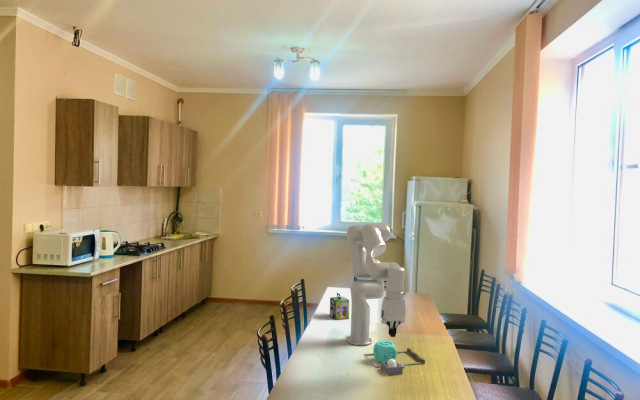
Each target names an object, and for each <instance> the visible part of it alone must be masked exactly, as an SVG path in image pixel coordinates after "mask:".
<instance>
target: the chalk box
mask: <svg viewBox="0 0 640 400" xmlns="http://www.w3.org/2000/svg"><path fill="white" fill-rule="evenodd" d="M329 316H330V317H331V319H333V320H335V321H337V320H347V319H348V320H349V319H350V299H348V298H347V297H344V296H342V295H341V294H340V293H338V292H336V296H333V297H330V298H329Z"/></svg>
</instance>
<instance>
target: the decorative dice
mask: <svg viewBox="0 0 640 400" xmlns="http://www.w3.org/2000/svg"><path fill="white" fill-rule="evenodd" d="M396 347H397V346H396V345H395V343H393V342H392V341H390V340H379V341H377V342H375V344H374V346H373V349H372V354H373V353H374V355H373V357H374V360H375V361H376V362H378V363H380V364H381V362H384V361H388V360H389V359H394V360H396V359H397V356H398V355H397V354H398V353H397V351H398V350H397V348H396Z"/></svg>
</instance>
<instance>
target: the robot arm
mask: <svg viewBox="0 0 640 400" xmlns="http://www.w3.org/2000/svg"><path fill="white" fill-rule="evenodd" d="M391 236H392V232H391V229H390V227H389V226H388V225H387V224H385V223H384V224H383V223H369V224H365V225H364V224H356V225H351V226H348V228H347V230H346V242H347V245H348V247H349V251H350V263H351V273H352V275H353V277H355V278H357V279H358V278H363V280H362V279H360V280H356V281H353V282H352V283H351V284H350V296H351V297H350V298H351V311H350V312H351V316H350V336H348V337H347V339H346V340H347V342H348V343H349V344H350V345H354V346H360V347H361V346H370V345H371V344H372V342H373V339H372V338H371V337H370V321H371V319H370V318H371V307H370V304H369V303H368V302H367V300H373V299H374V300H375V299H381V298H383V299H382V303H381V307H380V308H381V309H380V318H381V320H380V321H381V324H383V325H386V326H388V335H389V337H391V338H397V337H396V335H397V328H399V325H400V324H403V323H405V322H406V321H405V320H406V313H407V311H406V309H407V308H406V307H407V306H406V300H405V296H406V295H407V292H406V291H405V274H406V271H405V268H404V267H402V266H400V265H399V264H398V263H397V262H395V261H394V262H393V261H391V262H387V261H386V262H382V261H380V260H379V259H376V258H377V257H379V256H381V255H383V254H384V253H385V251H386V250H387V244H386V243H385V242H387V241H389V240H390V239H391ZM362 242H365V245H366V247H367V248H366V247H365V245H364V244H363V243H362ZM367 250H368V251H367ZM365 278H367V279H365ZM368 278H371V279H368ZM384 280H386V288H385V283H384ZM384 295H385V296H384Z"/></svg>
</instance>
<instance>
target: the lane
mask: <svg viewBox="0 0 640 400" xmlns="http://www.w3.org/2000/svg"><path fill="white" fill-rule="evenodd" d="M396 351H397V354H405V353H406V354H407V353H408V354H409V355H411V356H412V357H413V358H414V359H415V360H417V361H418V362H406V363H399V364H400V365H401V366H402V367H403V369H406V366H413V365H414V366H415V365H416V366H417V365H425V364H426V360H425V358H423V357H422V356H421V355H420V354H418V353H417V352H416V351H414V350H413V349H411V348H410V347H407V349H406V350H401V351H398V350H396ZM363 355H364V357H365V358H366V359H367V360H369V362H370V363H372V365H374V367H375V368H376V369H381V365H377V363H376V362H374V360H373V359H372V358H371V357H370V356H374V353H373V352H372V353H364V354H363Z"/></svg>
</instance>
